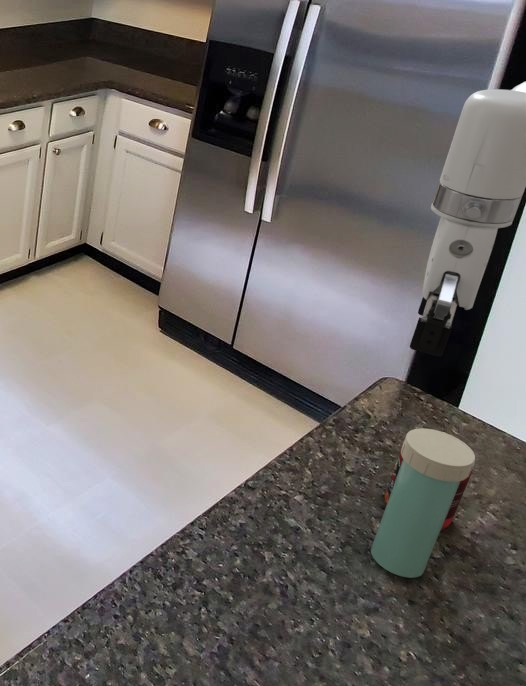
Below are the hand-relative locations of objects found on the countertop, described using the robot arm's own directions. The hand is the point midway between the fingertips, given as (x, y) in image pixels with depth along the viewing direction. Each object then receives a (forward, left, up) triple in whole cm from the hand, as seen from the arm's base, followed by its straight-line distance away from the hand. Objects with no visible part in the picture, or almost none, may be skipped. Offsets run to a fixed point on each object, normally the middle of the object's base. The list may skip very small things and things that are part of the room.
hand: (429, 334), depth 96 cm
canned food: (-9, -4, -31) cm, 33 cm away
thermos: (-2, +5, -31) cm, 32 cm away
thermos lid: (-2, +5, -13) cm, 14 cm away
